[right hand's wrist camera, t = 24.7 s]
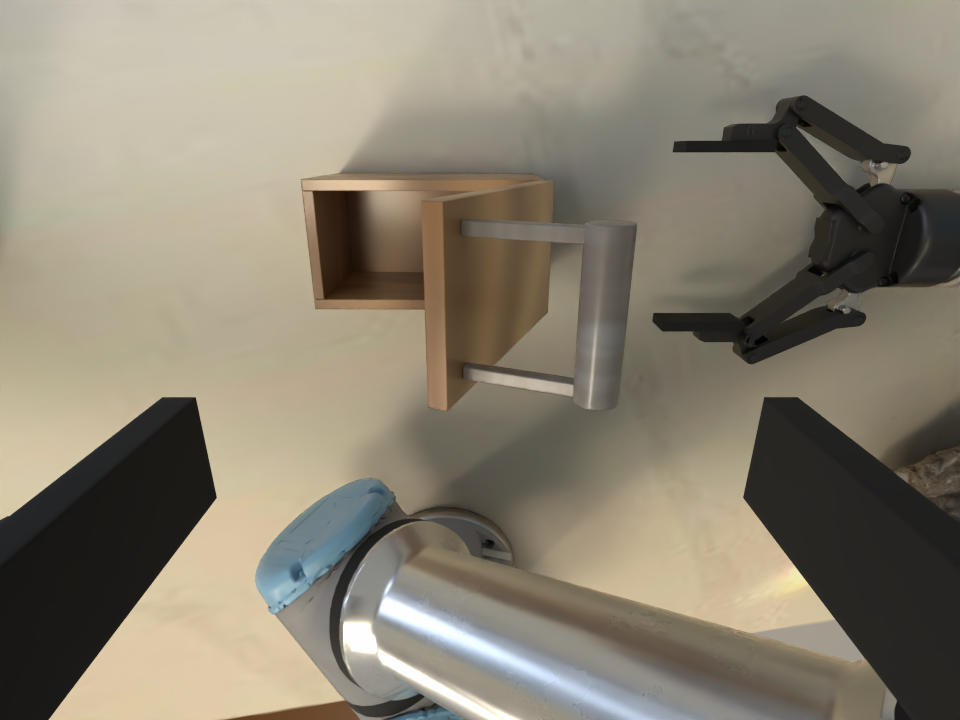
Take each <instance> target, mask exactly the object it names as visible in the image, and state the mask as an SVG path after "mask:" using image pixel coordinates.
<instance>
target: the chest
mask: <svg viewBox="0 0 960 720" xmlns="http://www.w3.org/2000/svg"><path fill="white" fill-rule="evenodd" d="M539 180H545V179H543V178H540V177H538V176H536V175H534V174H447V173H337V174H331V175H325V176H318V177H312V178H306V179H301V185H302V194H303V203H304V212H305V221H306V229H307V238H308V247H309V256H310V265H311V274H312V283H313V292H314V299H315V308H316V309H425V297H424V270H423V242H422V214H421V201H422V200H427V199H432V198H438V197H444V196H450V195H456V194H462V193H468V192H474V191H480V190H486V189H491V188H497V187H503V186H509V185H515V184H521V183H527V182H533V181H539Z"/></svg>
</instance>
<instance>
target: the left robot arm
mask: <svg viewBox="0 0 960 720" xmlns="http://www.w3.org/2000/svg"><path fill="white" fill-rule="evenodd" d="M796 126H797V127H799V128H801V129H802V130H804V131H806V132H807V133H809V134H811V135H812V136H814V137H816V138H817V139H819V140H821V141H822V142H824V143H826V144H827V145H829V146H830V147H832V148H834V149H835V150H837V151H839V152H840V153H842V154H844V155H845V156H847V157H849V158H851V159H854V160H858V161H861V163H860V168H862V170H863V171H864V172H865V173H868V174H869V176H870V183H867V184H865V185H863V186H861V187H860V188H858V189H857V190H855V189H854V188H853V187H851V186H849V185H847V184H846V183H845V182H844V181H843V180H842V179H841V178H840V176H839V175H838V174H837V173H836V172H835V171H834V170H833V169H832V167H831V166H830V165H829V164H828V163H827V162H826V161H825V160H824V158H823V157H822V156H821V155H820V154H819V153H818V152H817V151H816V149H815V148H814V147H813V146H812V145H811V144H810V143H809V142H808V141H807V139H806V138H805V137H804V136H803V135H802V134H801V133H800V132H799V130H798V129H797V128H796ZM673 152H776V153H777V154H778V156H779V157H780V158H781V159H782V160H783V161H784V162H785V163H786V164H787V165H788V166H789V167H790V169H791V170H792V171H793V172H794V173H795V174H796V175H797V176H798V177H799V178H800V179H801V181H802V182H803V183H804V184H805V185H806V186H807V187H808V188H809V189H810V190H811V191H812V192H813V194H814V198H815V199H816V200H817V201H818V202H819V204H820V205H821V206H822V207H823V208H824V209H825V211H824V212H823V213H822V215H821V217H820V218H817V219H816V223H815V238H814V240H813V243H812V245H811V247H810V251H809V255H808V257H811V260H812V263H811V264H809V265H808V266H807V267H805V268H804V269H802V270H801V271H800V272H798V273H797V277H796V278H795V279H793V280H792V281H791V282H789V283H788V284H786V285H785V286H784V287H782V288H781V289H779V290H778V291H777V292H775V293H774V294H772V295H771V296H769V297H768V298H767V299H765V300H764V301H762V302H761V303H760V304H758V305H757V306H755V307H754V308H753V309H751V310H750V311H748V312H747V313H746V314H744V315H743V316H741V317H740V318H736V317H735V316H733V315H732V314H730V313H654V314H653V322H654V323H655V324H656V325H657V326H658V327H659V328H660V329H661V330H662V331H693V335H694V336H695V337H696V338H698V339H699V340H701V341H703V342H733V344H734V345H733V352H734V353H735V354H737V355H738V356H739V357H740V358H742V359H743V360H744V361H745V362H747V363H748V364H754V363H757V362H759V361H761V360H764V359H766V358H769V357H771V356H773V355H776V354H778V353H780V352H783V351H785V350H787V349H790V348H792V347H794V346H797V345H799V344H801V343H804V342H806V341H808V340H811V339H813V338H816V337H818V336H820V335H823V334H825V333H827V332H830V331H832V330H834V329H837V328H846V327H856V326H860V325H862V324H863V323H864V322H865V320H866V315H865V314H864V313H863V312H860V311H859V307H860V300H861V293H862V292H864V291H866V290H868V289H871V288H875V287H931V286H934V287H960V189H959V190H945V189H895V188H894V187H892V186H891V185H890V183H891V181H892V178H893V175H894V173H895V170H896V167H897V165H898V164H902V163H904V162H906V161H907V160H908V159H909V157H910V155H911V151H910V149H909V147H906V146H900V145H892V144H884V143H882V142H880V141H879V140H877V139H875V138H874V137H872V136H871V135H869V134H867V133H866V132H864V131H862V130H861V129H859V128H858V127H856V126H854V125H853V124H851V123H850V122H848V121H846V120H845V119H843V118H841V117H840V116H838V115H837V114H835V113H833V112H832V111H830V110H829V109H827V108H825V107H824V106H822V105H820V104H819V103H817V102H816V101H814V100H812V99H811V98H809V97H808V96H805V95H804V96H797V97H791V98H786V99H782V100H780V101H779V102H778V104H777V106H776V114H775V116H774V117H773V119H772V120H771V121H770V122H769V123H767V124H732V125H729V126H727V127H724V131H723V138H722V141H675V142H674V147H673ZM821 275H825V276H821ZM836 288H840V289H842V293H841V295H840V296H839V297H838V298H836V299H833V300H829V301H827V302H826V306H822V307H818V308H815V309H812V310H810V311H807V312H805V313H803V314H800V315H798V316H796V317H794V318H791V319H789V320H787V321H784V320H785V319H787V318H788V317H790V316H791V315H793V314H794V313H795V312H797V311H798V310H800V309H801V308H803V307H804V306H806V305H807V304H808V303H810V302H811V301H813V300H814V299H816V298H817V297H819V296H821V295H826V294H828V293H830V292H832V291H833V290H835V289H836ZM782 321H784V322H782ZM781 322H782V323H781ZM395 498H396V496H395V494H394V492H392V491H390V490H389V489H388V487H387V486H386V485H385V484H384V483H383V482H382V481H380V480H378V479H374V478H366V479H360V480H357V481H354V482H351V483H348V484H346V485H344V486H342V487H340V488H338V489H336V490H335V491H333V492H331V493H330V494H328V495H326V496H325V497H323V498H322V499H320V500H319V501H317V502H316V503H314V504H313V505H312V506H310V507H309V508H308V509H307V510H305V511H304V512H303V513H301V514H300V515H299V516H298V517H297V518H296V519H295V520H293V521H292V522H291V523H290V524H289V525H288V526H287V527H286V528H285V529H284V530H283V531H282V532H281V533H280V534H279V535H278V537H277V538H276V539H275V540H274V541H273V542H272V544H271V545H270V546H269V548H268V549H267V551H266V553H265V554H264V555H263V557H262V558H261V560H260V563H259V565H258V568H257V571H256V586H257V589H258V591H259V592H260V594H261V595H262V597H263V598H264V600H265V601H266V603H267V604H268V611H269V612H270V613H271V614H275V615H276V617H277V618H278V619H279V620H280V622H281V623H282V624H283V625H284V626H285V628H286V629H287V630H288V631H289V633H290V634H291V635H292V636H293V638H294V639H295V640H296V641H297V642H298V644H299V645H300V646H301V647H302V649H303V650H304V651H305V652H306V654H307V655H308V656H309V657H310V659H311V660H312V661H313V662H314V663H315V665H316V666H317V667H318V668H319V670H320V671H321V672H322V673H323V675H324V676H325V677H326V678H327V679H328V681H329V682H330V683H331V684H332V686H333V687H334V688H335V689H336V691H337V692H338V693H339V694H340V695H341V696H342V697H343V698H344V699H345V700H346V702H347V703H348V704H349V705H350V707H351V708H352V709H353V711H354V712H355V713H356V714H357V716H358V717H359V719H360V720H911V718H910V717H909V716H908V714H907V713H906V712H905V710H904V709H903V708H902V706H901V705H900V704H899V702H898V701H897V700H896V699H895V697H894V696H893V695H892V693H891V692H890V691H889V689H888V688H887V687H886V685H885V684H884V683H883V681H882V680H881V679H880V677H879V676H878V675H877V673H876V672H875V671H874V669H873V668H872V667H871V666H870V664H869V663H868V662H867V660H866V659H865V658H864V659H863V660H858V661H853V662H851V661H847V660H844V659H840V658H836V657H833V656H830V655H826V654H822V653H819V652H815V651H812V650H808V649H804V648H801V647H797V646H794V645H790V644H787V643H783V642H779V641H776V640H772V639H769V638H765V637H761V636H758V635H754V634H751V633H747V632H744V631H740V630H736V629H733V628H729V627H726V626H722V625H718V624H715V623H711V622H708V621H704V620H701V619H697V618H693V617H690V616H686V615H683V614H679V613H675V612H672V611H668V610H665V609H661V608H658V607H654V606H650V605H647V604H643V603H640V602H636V601H632V600H629V599H625V598H622V597H618V596H615V595H611V594H607V593H604V592H600V591H597V590H593V589H589V588H586V587H582V586H579V585H575V584H572V583H568V582H564V581H561V580H557V579H554V578H550V577H546V576H543V575H539V574H536V573H532V572H529V571H525V570H521V569H518V568H514V565H513V555H512V550H511V547H510V544H509V542H508V540H507V539H506V537H505V536H504V534H503V533H502V532H501V530H500V529H499V528H498V527H497V526H495V525H494V524H493V523H492V522H490V521H489V520H487V519H486V518H484V517H482V516H480V515H478V514H475V513H473V512H470V511H466V510H462V509H455V508H436V509H430V510H426V511H422V512H419V513H417V514H414V515H412V516H408V515H407V514H406V513H405V512H403V510H402V509H401V508H400V507H399V505H398V503H397V502H396V500H395Z"/></svg>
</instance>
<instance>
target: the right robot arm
mask: <svg viewBox="0 0 960 720" xmlns="http://www.w3.org/2000/svg"><path fill="white" fill-rule="evenodd" d="M216 498H217V497H216V492H215V487H214V482H213V478H212V473H211V468H210V463H209V459H208V454H207V449H206V444H205V440H204V435H203V430H202V425H201V421H200V416H199V411H198V406H197V402H196V397H162V398H161V399H160V400H158V401H157V402H156V403H155V404H153V405H152V406H151V407H149V408H148V409H147V410H146V411H144V412H143V413H142V414H140V415H139V416H138V417H137V418H135V419H134V420H133V421H131V422H130V423H129V424H128V425H126V426H125V427H124V428H122V429H121V430H120V431H119V432H117V433H116V434H115V435H113V436H112V437H111V438H110V439H108V440H107V441H106V442H104V443H103V444H102V445H101V446H99V447H98V448H97V449H95V450H94V451H93V452H92V453H90V454H89V455H88V456H86V457H85V458H84V459H83V460H81V461H80V462H79V463H77V464H76V465H75V466H74V467H72V468H71V469H70V470H68V471H67V472H66V473H65V474H63V475H62V476H61V477H59V478H58V479H57V480H56V481H54V482H53V483H52V484H50V485H49V486H48V487H47V488H45V489H44V490H43V491H41V492H40V493H39V494H38V495H36V496H35V497H34V498H32V499H31V500H30V501H29V502H27V503H26V504H25V505H23V506H22V507H21V508H20V509H18V510H17V511H16V512H14V513H13V514H12V515H11V516H7V517H5V518H3V519H1V520H0V720H49V718H50V717H51V716H52V714H53V713H54V712H55V710H56V709H57V708H58V706H59V705H60V704H61V702H62V701H63V700H64V699H65V697H66V696H67V695H68V693H69V692H70V691H71V689H72V688H73V687H74V685H75V684H76V683H77V681H78V680H79V679H80V677H81V676H82V675H83V673H84V672H85V671H86V669H87V668H88V667H89V666H90V664H91V663H92V662H93V660H94V659H95V658H96V656H97V655H98V654H99V652H100V651H101V650H102V648H103V647H104V646H105V644H106V643H107V642H108V640H109V639H110V638H111V637H112V635H113V634H114V633H115V631H116V630H117V629H118V627H119V626H120V625H121V623H122V622H123V621H124V619H125V618H126V617H127V615H128V614H129V613H130V611H131V610H132V609H133V608H134V606H135V605H136V604H137V602H138V601H139V600H140V598H141V597H142V596H143V594H144V593H145V592H146V590H147V589H148V588H149V586H150V585H151V584H152V582H153V581H154V580H155V579H156V577H157V576H158V575H159V573H160V572H161V571H162V569H163V568H164V567H165V565H166V564H167V563H168V561H169V560H170V559H171V557H172V556H173V555H174V553H175V552H176V551H177V549H178V548H179V547H180V546H181V544H182V543H183V542H184V540H185V539H186V538H187V536H188V535H189V534H190V532H191V531H192V530H193V528H194V527H195V526H196V524H197V523H198V522H199V520H200V519H201V518H202V517H203V515H204V514H205V513H206V511H207V510H208V509H209V507H210V506H211V505H212V503H213V502H214V501H215V499H216ZM743 498H744V499H745V501H746V502H747V503H748V505H749V506H750V507H751V509H752V510H753V511H754V513H755V514H756V515H757V517H758V518H759V519H760V520H761V522H762V523H763V524H764V526H765V527H766V528H767V530H768V531H769V532H770V534H771V535H772V536H773V538H774V539H775V540H776V542H777V543H778V544H779V546H780V547H781V548H782V549H783V551H784V552H785V553H786V555H787V556H788V557H789V559H790V560H791V561H792V563H793V564H794V565H795V567H796V568H797V569H798V571H799V572H800V573H801V575H802V576H803V577H804V579H805V580H806V581H807V582H808V584H809V585H810V586H811V588H812V589H813V590H814V592H815V593H816V594H817V596H818V597H819V598H820V600H821V601H822V602H823V604H824V605H825V606H826V608H827V609H828V610H829V611H830V613H831V614H832V615H833V617H834V618H835V619H836V621H837V622H838V623H839V625H840V626H841V627H842V629H843V630H844V631H845V633H846V634H847V635H848V637H849V638H850V639H851V640H852V642H853V643H854V644H855V646H856V647H857V648H858V650H859V651H860V652H861V654H862V655H863V656H864V658H865V659H866V660H867V662H868V663H869V664H870V666H871V667H872V668H873V669H874V671H875V672H876V673H877V675H878V676H879V677H880V679H881V680H882V681H883V683H884V684H885V685H886V687H887V688H888V689H889V691H890V692H891V693H892V695H893V696H894V697H895V699H896V700H897V701H898V702H899V704H900V705H901V706H902V708H903V709H904V710H905V712H906V713H907V714H908V716H909V717H910V718H911V720H960V518H959V517H957V516H955V515H953V514H947V513H946V512H944V511H943V510H942V509H940V508H939V507H938V506H937V505H935V504H934V503H933V502H931V501H930V500H929V499H928V498H926V497H925V496H924V495H922V494H921V493H920V492H919V491H917V490H916V489H915V488H913V487H912V486H911V485H910V484H908V483H907V482H906V481H904V480H903V479H902V478H901V477H899V476H898V475H897V474H895V473H894V472H893V471H892V470H890V469H889V468H888V467H886V466H885V465H884V464H883V463H881V462H880V461H879V460H877V459H876V458H875V457H874V456H872V455H871V454H870V453H868V452H867V451H866V450H865V449H863V448H862V447H861V446H859V445H858V444H857V443H856V442H854V441H853V440H852V439H850V438H849V437H848V436H847V435H845V434H844V433H843V432H841V431H840V430H839V429H838V428H836V427H835V426H834V425H832V424H831V423H830V422H829V421H827V420H826V419H825V418H823V417H822V416H821V415H820V414H818V413H817V412H816V411H814V410H813V409H812V408H811V407H809V406H808V405H807V404H805V403H804V402H803V401H802V400H800V399H799V398H798V397H764V401H763V406H762V411H761V416H760V421H759V425H758V430H757V435H756V440H755V444H754V449H753V454H752V459H751V463H750V468H749V473H748V478H747V482H746V487H745V492H744V497H743Z"/></svg>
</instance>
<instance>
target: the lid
mask: <svg viewBox="0 0 960 720" xmlns="http://www.w3.org/2000/svg"><path fill="white" fill-rule="evenodd" d="M553 196H554V181H553V180H539V181H533V182H527V183H521V184H515V185H509V186H503V187H497V188H491V189H486V190H480V191H474V192H468V193H462V194H456V195H450V196H444V197H438V198H432V199H427V200H422V201H421V214H422V242H423V270H424V297H425V325H426V353H427V381H428V407H429V408H434V409H439V410H445V411H448V410H449V409H450V408H451V407H452V406H453V405H454V404H455V403H456V402H457V401H458V400H459V399H460V398H461V397H462V396H463V395H464V394H465V393H466V392H467V391H468V390H469V389H470V388H471V387H472V386H473V385H474V384H475V383H476V382H482V383H489V384H495V385H501V386H507V387H513V388H519V389H526V390H532V391H538V392H544V393H550V394H556V395H563V396H569V397H572V399H573V402H574V403H575V404H576V405H578V406H579V407H582V408H585V409H588V410H595V411H605V410H610V409H613V408H615V407H616V406H617V405H618V402H619V392H620V383H621V373H622V364H623V354H624V345H625V335H626V326H627V316H628V307H629V297H630V288H631V278H632V269H633V259H634V250H635V240H636V231H637V224H636V223H634V222H629V221H620V220H593V221H588V222H585V224H565V223H552V216H553ZM551 242H559V243H575V244H583V256H582V270H581V284H580V298H579V312H578V326H577V340H576V354H575V369H574V378H570V377H563V376H557V375H550V374H543V373H537V372H530V371H523V370H517V369H510V368H503V367H497V366H494V365H495V364H496V363H497V362H498V361H499V360H500V359H501V358H502V357H503V356H504V355H505V354H506V353H507V352H508V351H509V350H510V349H511V348H512V347H513V346H514V345H515V344H516V343H517V342H518V341H519V340H520V339H521V338H522V337H523V336H524V335H525V334H526V333H527V332H528V331H529V330H530V329H531V328H532V327H533V326H534V325H535V324H536V323H537V322H538V321H539V320H541V319H542V318H543V317H544V316H545V315H546V314H547V313H548V297H549V277H550V257H551Z"/></svg>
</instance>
